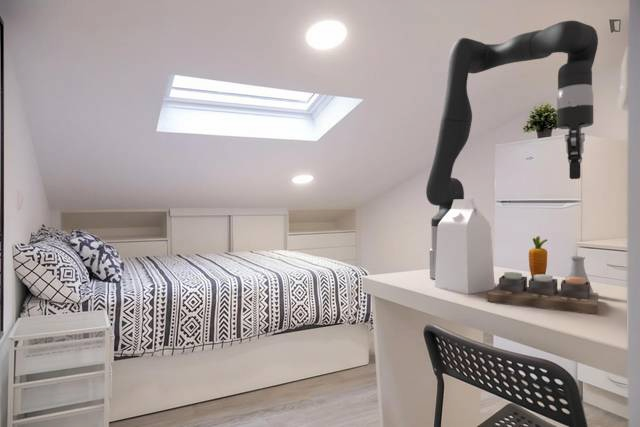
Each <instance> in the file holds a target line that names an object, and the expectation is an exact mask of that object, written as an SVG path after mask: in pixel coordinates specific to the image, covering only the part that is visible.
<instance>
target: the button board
mask: <svg viewBox="0 0 640 427" xmlns="http://www.w3.org/2000/svg"><path fill="white" fill-rule="evenodd" d="M590 285H591V282H590V281H589V282H587V281H586V285H576V284H566V279H562V280H561V283H560V288H559V289H558V279H557V278H553V283H552V282H540V281H534V277H532V276H531V278H530V279H529V280H528V277H527V276H522V280H515V279H504V274H503V275H502V276H501V277H499V278H498V284H497V285H496V286H495V288H494V289H492V290H489V292H488V293H486V295H487V296H486V301H487V302H490V303H498V304H505V305H516V306H525V307H534V308H543V309H550V310H560V311H568V312H577V313H586V314H594V315H598V311H599V308H598V307H599V293H598V292H594V291H593V292H594V293H593V292H590Z"/></svg>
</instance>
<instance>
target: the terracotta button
mask: <svg viewBox="0 0 640 427" xmlns="http://www.w3.org/2000/svg"><path fill="white" fill-rule="evenodd" d="M565 280H566V284H576V285H586V279H585V278H582V277H569V276H565Z"/></svg>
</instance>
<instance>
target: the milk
mask: <svg viewBox="0 0 640 427" xmlns="http://www.w3.org/2000/svg"><path fill="white" fill-rule="evenodd" d="M492 240H493V239H492V228H491V225H490V222H489V221H488V220H487V218H486V217H485V216H484V215H483V214H482V213H481V211H479V209H478V208H477V205H476V203H475V200H474V198H467V199H466V198H464V199H454V201H453V204H452V207H451V209H450V210H449V211H448V213H447V214H446V215H445V216H444V217H443V218H442V220H441V221H440V222H439V224H438V228H437V249H436V272H435V279H434V287H435V288H438V289H443V290H448V291H452V292H456V293H461V294H465V295H470V294H474V293H481V292H487V291H491V290H492V289H494V288H495V287H496V286H495V274H494V273H495V272H494V256H493V243H492V242H493V241H492Z"/></svg>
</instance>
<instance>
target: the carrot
mask: <svg viewBox="0 0 640 427" xmlns="http://www.w3.org/2000/svg"><path fill="white" fill-rule="evenodd" d="M540 238H541V236H539V235H537V236H536V237H533V238H532V242H533V244H534V247H532V248H530V249H529V251H528V262H529V264H528V265H529V270H530V271H529V272H530V276H531V278H532V277H534V275H536V274H544V275H546V272H547V266H548V251H547V249H546V248H542V245H543V244H544V243H545V242H547V241H548V239H547V238H545V239H543V240H540Z"/></svg>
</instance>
